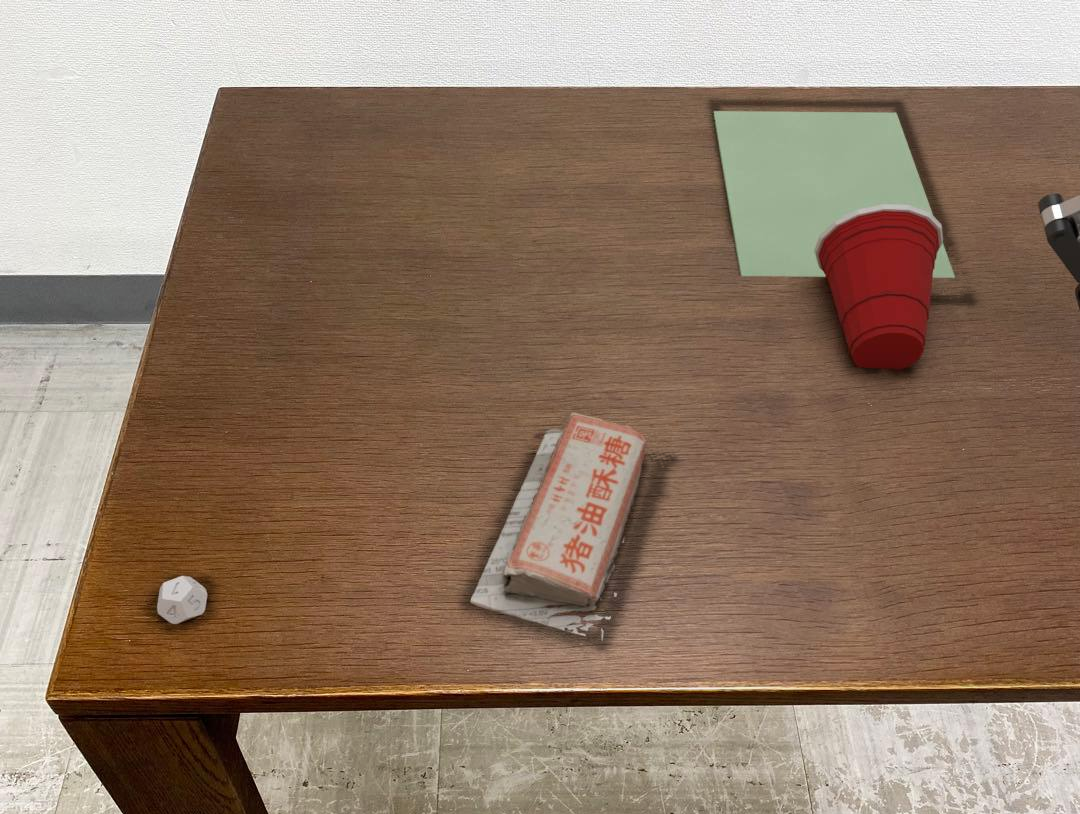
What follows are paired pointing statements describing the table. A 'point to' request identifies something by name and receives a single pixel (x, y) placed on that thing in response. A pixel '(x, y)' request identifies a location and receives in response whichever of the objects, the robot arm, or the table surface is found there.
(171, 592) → the game die
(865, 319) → the plastic cup
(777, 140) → the mat
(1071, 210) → the robot arm
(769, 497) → the table surface
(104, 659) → the table surface
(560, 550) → the packaged product
